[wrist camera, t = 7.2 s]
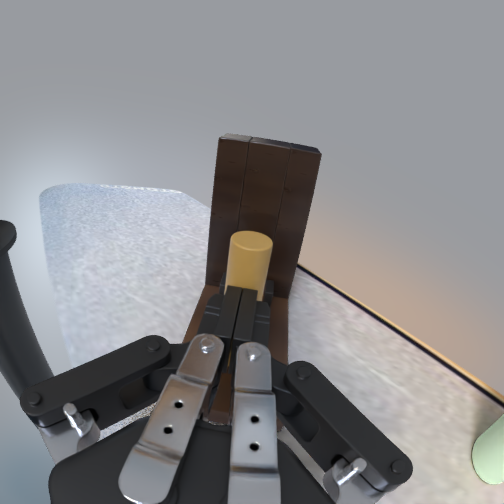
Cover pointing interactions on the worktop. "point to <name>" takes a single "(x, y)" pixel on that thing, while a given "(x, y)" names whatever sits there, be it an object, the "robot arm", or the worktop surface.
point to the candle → (490, 453)
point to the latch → (258, 229)
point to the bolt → (248, 261)
